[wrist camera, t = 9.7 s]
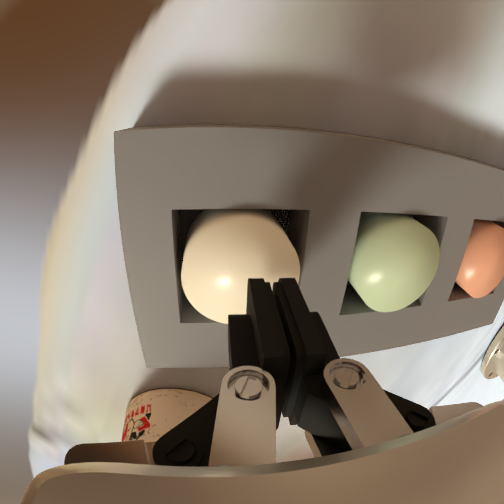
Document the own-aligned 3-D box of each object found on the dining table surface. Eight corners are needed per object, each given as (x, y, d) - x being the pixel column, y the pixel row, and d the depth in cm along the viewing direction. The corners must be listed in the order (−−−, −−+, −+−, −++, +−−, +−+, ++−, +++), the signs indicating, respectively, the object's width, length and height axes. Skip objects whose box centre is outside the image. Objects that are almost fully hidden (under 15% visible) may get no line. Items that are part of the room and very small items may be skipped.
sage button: (418, 206, 16) (449, 225, 13) (399, 281, 18) (423, 307, 15) (344, 201, 15) (371, 222, 12) (329, 285, 17) (349, 316, 15)
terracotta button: (492, 214, 17) (520, 230, 14) (474, 274, 19) (497, 294, 16) (451, 209, 16) (482, 227, 14) (432, 278, 18) (457, 302, 16)
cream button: (288, 200, 15) (306, 221, 12) (279, 288, 17) (292, 322, 14) (183, 199, 14) (177, 221, 11) (188, 290, 16) (185, 326, 13)
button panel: (512, 172, 16) (539, 183, 14) (472, 304, 21) (492, 323, 19) (132, 127, 13) (114, 131, 10) (152, 332, 18) (146, 367, 15)
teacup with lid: (128, 371, 19) (107, 524, 9) (247, 395, 22) (273, 536, 11) (120, 442, 24) (111, 544, 13) (207, 457, 26) (216, 555, 16)
